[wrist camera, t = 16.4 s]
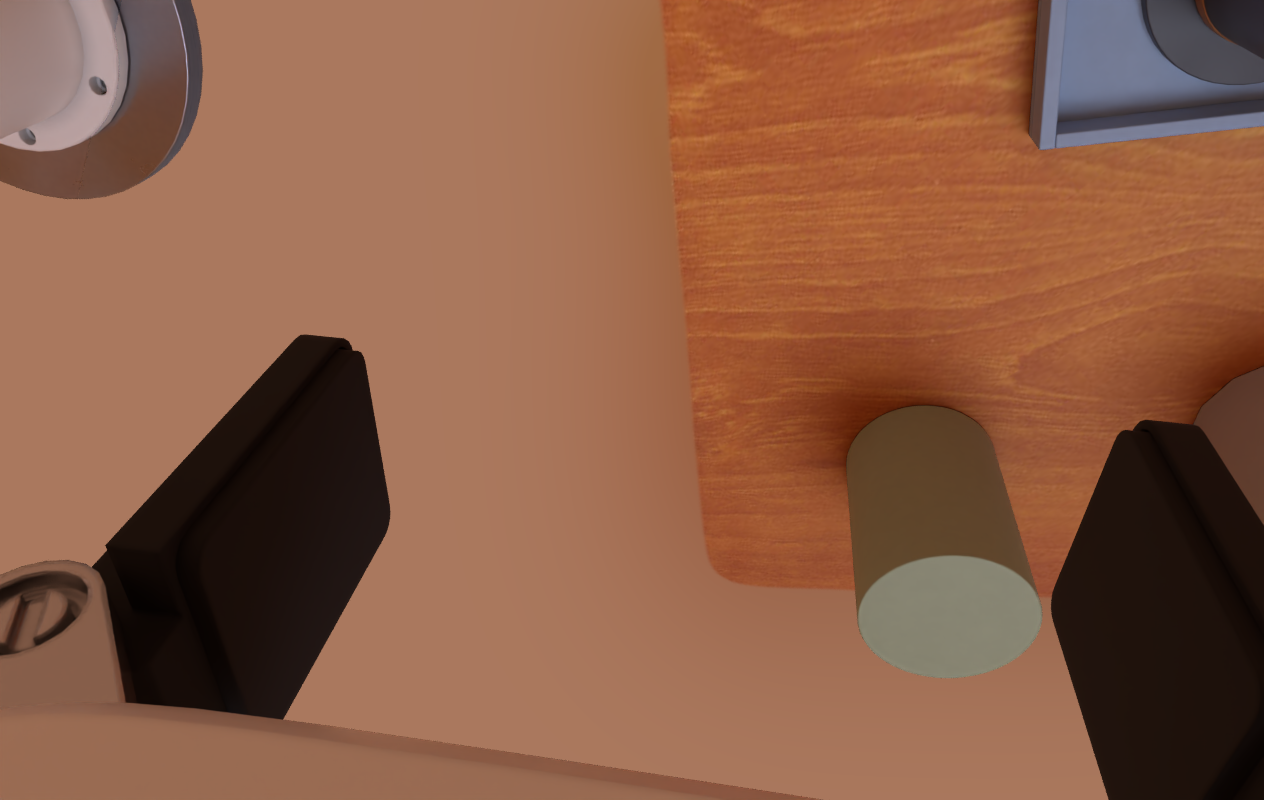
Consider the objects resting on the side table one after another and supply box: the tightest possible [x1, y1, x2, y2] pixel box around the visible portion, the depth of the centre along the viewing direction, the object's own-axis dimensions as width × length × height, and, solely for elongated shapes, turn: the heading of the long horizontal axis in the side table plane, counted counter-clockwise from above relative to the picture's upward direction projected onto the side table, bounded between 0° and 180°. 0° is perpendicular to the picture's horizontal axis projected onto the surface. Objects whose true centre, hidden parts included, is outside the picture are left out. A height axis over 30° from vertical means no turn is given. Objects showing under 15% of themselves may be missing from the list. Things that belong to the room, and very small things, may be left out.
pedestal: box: [846, 405, 1042, 678], centre depth 43 cm, size 8×8×11 cm
